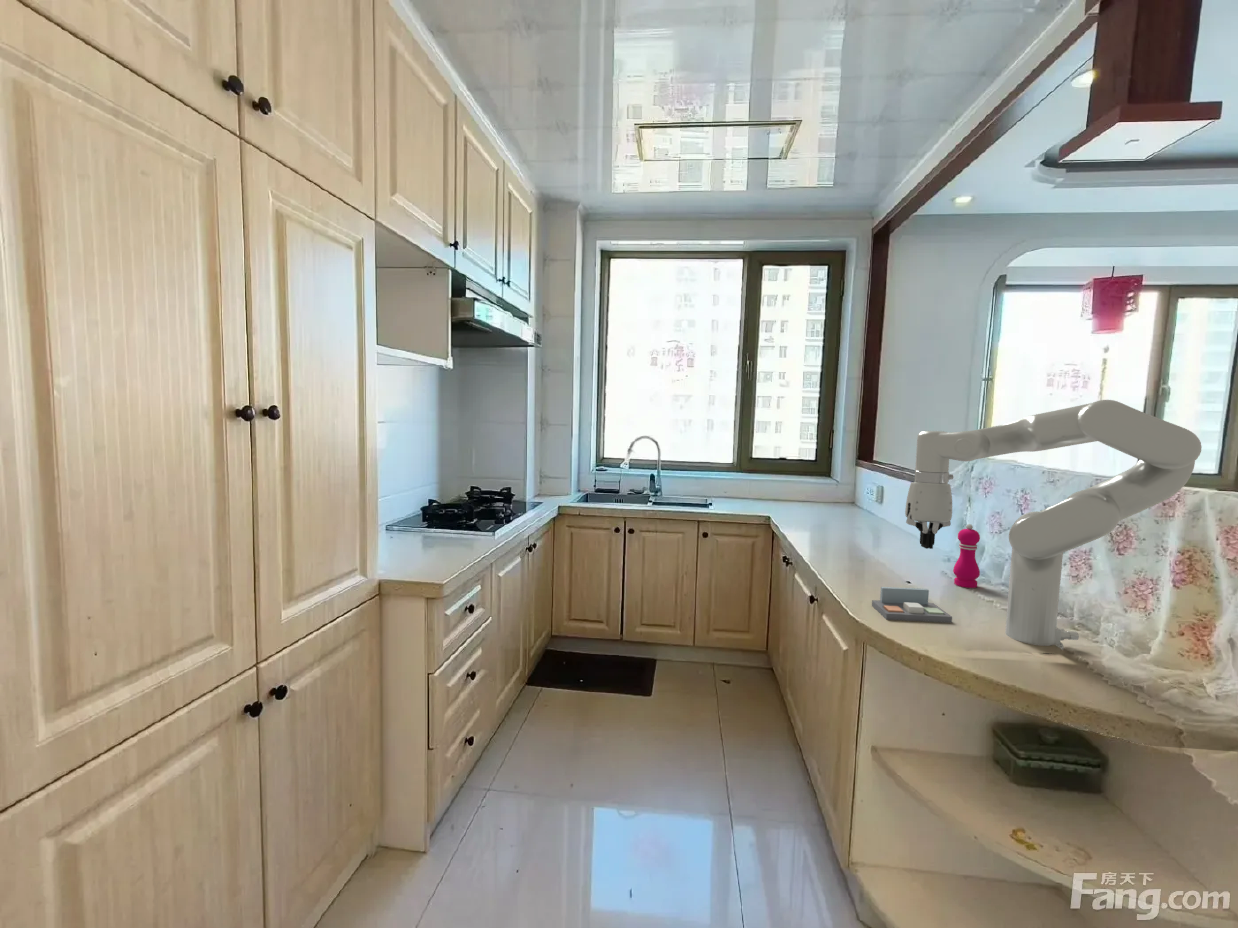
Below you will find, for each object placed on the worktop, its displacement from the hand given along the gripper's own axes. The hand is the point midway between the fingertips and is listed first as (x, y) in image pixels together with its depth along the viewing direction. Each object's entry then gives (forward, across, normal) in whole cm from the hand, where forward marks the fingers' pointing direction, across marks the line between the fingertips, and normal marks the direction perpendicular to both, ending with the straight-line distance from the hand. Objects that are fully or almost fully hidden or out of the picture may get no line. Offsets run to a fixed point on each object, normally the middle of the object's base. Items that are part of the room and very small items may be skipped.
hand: (926, 547), depth 143 cm
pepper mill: (+20, -28, -33) cm, 48 cm away
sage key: (+19, -2, +2) cm, 19 cm away
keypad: (+20, +3, 0) cm, 20 cm away
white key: (+18, +3, +2) cm, 18 cm away
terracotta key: (+19, +8, +2) cm, 21 cm away
